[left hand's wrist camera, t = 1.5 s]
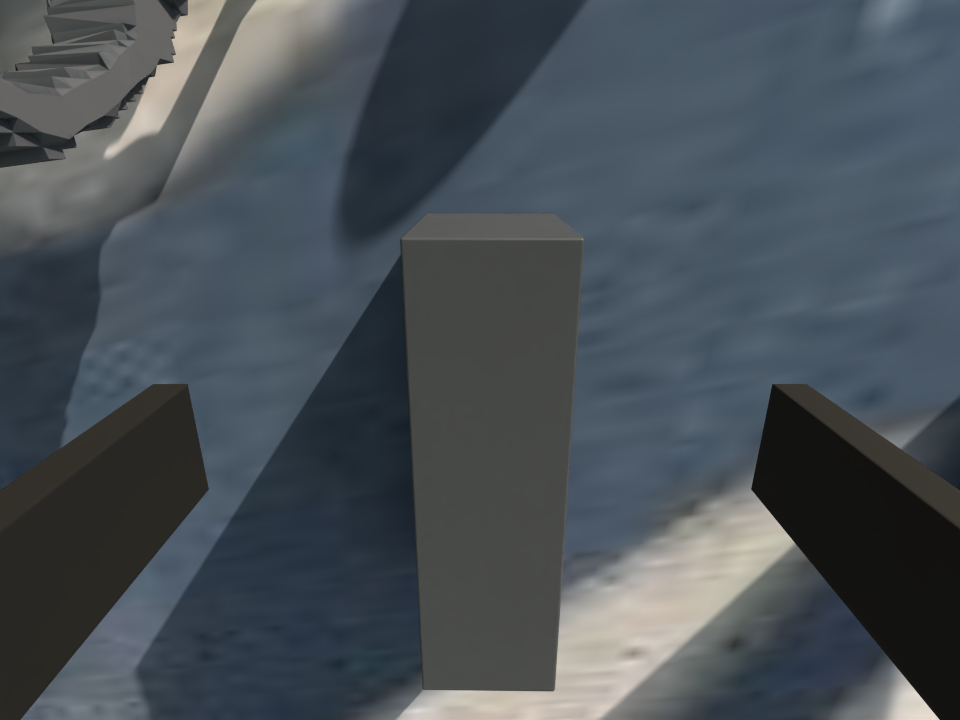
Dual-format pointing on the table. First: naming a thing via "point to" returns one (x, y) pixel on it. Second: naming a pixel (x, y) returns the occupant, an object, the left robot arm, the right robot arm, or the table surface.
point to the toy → (83, 73)
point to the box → (490, 440)
